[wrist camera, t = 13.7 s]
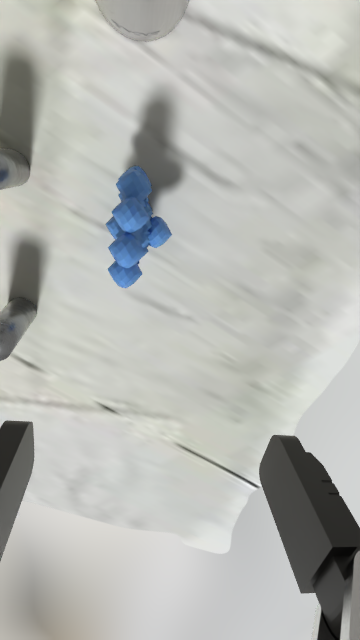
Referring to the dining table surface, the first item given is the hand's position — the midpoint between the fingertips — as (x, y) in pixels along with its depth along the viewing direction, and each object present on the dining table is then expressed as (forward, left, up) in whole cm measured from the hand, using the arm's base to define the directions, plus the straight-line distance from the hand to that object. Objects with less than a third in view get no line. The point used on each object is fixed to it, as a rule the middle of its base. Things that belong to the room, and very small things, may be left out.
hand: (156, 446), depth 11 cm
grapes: (-2, -1, -32) cm, 32 cm away
